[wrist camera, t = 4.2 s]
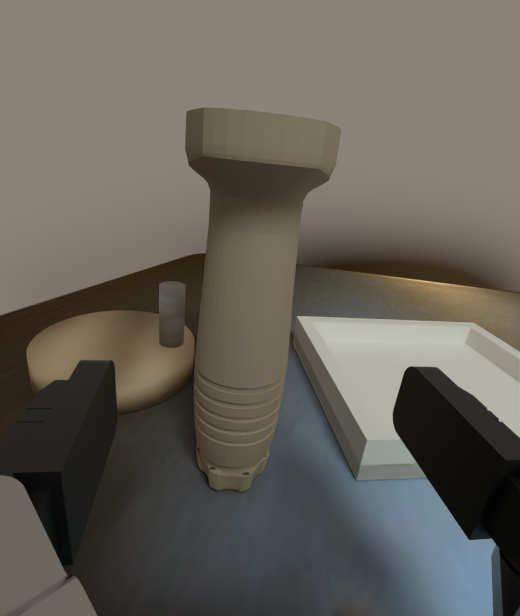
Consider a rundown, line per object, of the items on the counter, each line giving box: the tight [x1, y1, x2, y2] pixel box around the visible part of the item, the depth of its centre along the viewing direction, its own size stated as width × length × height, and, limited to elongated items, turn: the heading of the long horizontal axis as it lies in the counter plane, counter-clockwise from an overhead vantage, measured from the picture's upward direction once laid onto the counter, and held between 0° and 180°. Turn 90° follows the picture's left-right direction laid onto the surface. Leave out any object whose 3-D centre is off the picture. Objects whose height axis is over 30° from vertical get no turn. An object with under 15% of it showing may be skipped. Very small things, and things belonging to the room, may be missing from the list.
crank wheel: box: [26, 281, 194, 414], centre depth 24 cm, size 10×10×6 cm
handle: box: [185, 108, 341, 492], centre depth 15 cm, size 5×6×15 cm
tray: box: [293, 316, 520, 481], centre depth 25 cm, size 16×14×2 cm
